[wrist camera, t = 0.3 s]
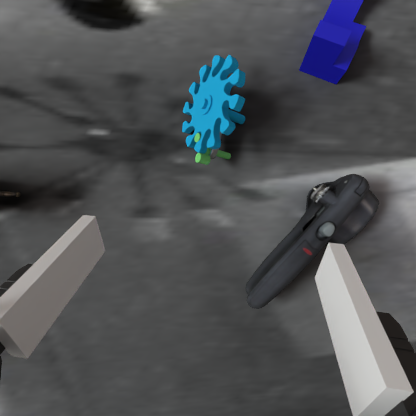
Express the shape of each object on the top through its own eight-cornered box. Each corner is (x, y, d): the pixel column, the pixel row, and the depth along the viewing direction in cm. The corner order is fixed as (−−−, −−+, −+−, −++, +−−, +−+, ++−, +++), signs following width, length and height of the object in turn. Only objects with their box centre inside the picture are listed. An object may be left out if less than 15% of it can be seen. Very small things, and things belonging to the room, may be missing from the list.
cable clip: (335, 85, 28) (360, 52, 22) (298, 71, 29) (313, 35, 23) (384, -15, 27) (424, -77, 21) (345, -27, 28) (373, -91, 22)
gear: (188, 62, 29) (246, 37, 21) (226, 81, 32) (288, 67, 24) (169, 156, 30) (216, 166, 22) (207, 165, 34) (259, 176, 26)
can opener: (329, 164, 28) (350, 153, 23) (377, 205, 27) (412, 204, 22) (225, 273, 30) (221, 288, 24) (268, 315, 29) (274, 340, 23)
